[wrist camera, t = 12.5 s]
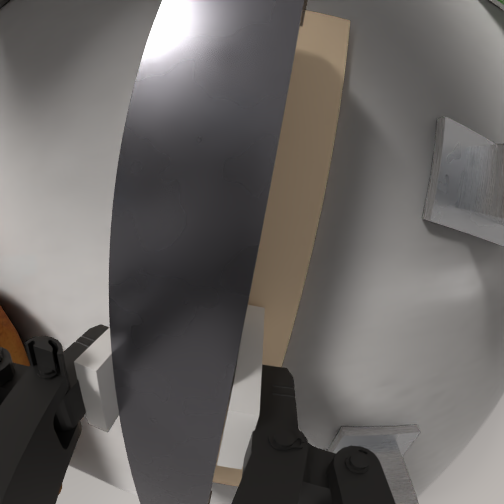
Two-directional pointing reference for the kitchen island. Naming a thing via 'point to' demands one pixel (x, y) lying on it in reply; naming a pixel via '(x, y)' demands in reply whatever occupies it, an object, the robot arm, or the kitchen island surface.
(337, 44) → the mat
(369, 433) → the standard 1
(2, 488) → the robot arm
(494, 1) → the skincare box
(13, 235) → the kitchen island surface
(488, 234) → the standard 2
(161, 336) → the rail
